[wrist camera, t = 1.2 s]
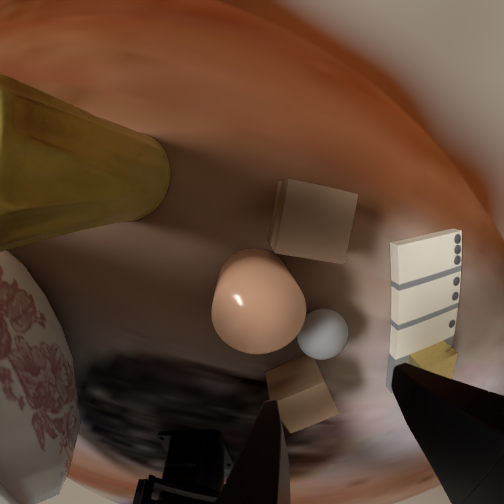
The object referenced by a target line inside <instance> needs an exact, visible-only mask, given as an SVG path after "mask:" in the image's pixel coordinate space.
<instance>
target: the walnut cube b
mask: <svg viewBox="0 0 504 504" xmlns="http://www.w3.org/2000/svg"><path fill="white" fill-rule="evenodd" d="M357 199H358V194H355V193H351V192H347V191H343V190H339V189H335V188H331V187H326V186H322V185H317V184H313V183H308V182H304V181H299V180H294V179H289V178H288V179H284V180H280V181H278V186H277V192H276V197H275V203H274V208H273V214H272V219H271V225H270V230H269V236H268V242H269V244H270V245H271V247H272V249H273V251H274V252H275V253H276V254H282V255H289V256H295V257H301V258H307V259H313V260H320V261H326V262H332V263H338V264H344V261H345V257H346V253H347V249H348V244H349V240H350V235H351V230H352V225H353V220H354V215H355V210H356V205H357Z"/></svg>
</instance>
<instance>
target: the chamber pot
mask: <svg viewBox="0 0 504 504" xmlns="http://www.w3.org/2000/svg"><path fill="white" fill-rule="evenodd" d="M80 423H81V419H80V413H79V406H78V398H77V390H76V381H75V374H74V366H73V358H72V355H71V353H70V350H69V347H68V344H67V342H66V339H65V336H64V333H63V330H62V327H61V324H60V322H59V320H58V319H57V317H56V315H55V313H54V311H53V309H52V307H51V305H50V303H49V301H48V299H47V297H46V295H45V294H44V292H43V291H42V290H41V288H40V287H39V286H38V284H37V283H36V282H35V280H34V279H33V277H32V276H31V274H30V273H29V271H28V270H27V269H26V267H25V266H24V265H23V264H22V263H21V262H20V261H18V260H17V259H16V258H15V257H14V256H13V255H12V254H11V253H10V252H9V251H8V250H5V251H2V252H0V504H37V503H39V502H42V501H44V500H46V499H49V498H51V497H53V496H56V495H58V494H59V493H60V491H61V489H62V486H63V484H64V482H65V480H66V478H67V476H68V473H69V470H70V466H71V462H72V458H73V453H74V448H75V444H76V440H77V435H78V431H79V427H80Z"/></svg>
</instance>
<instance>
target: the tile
mask: <svg viewBox="0 0 504 504" xmlns="http://www.w3.org/2000/svg"><path fill="white" fill-rule="evenodd" d="M457 355H458V352H456V351H455V350H454V349H453V348H452V347H450V346H449V345H448V344H447V343H446V342H444V341H441V342H438V343H436V344H434V345H431V346H429V347H427V348H424V349H422V350H420V351H417V352H415V353H412V354H410V355H409V362H408V364H411V365H414V366H416V367H419V368H422V369H425V370H427V371H430V372H433V373H436V374H439V375H441V376H444V377H447V378H450V379H452V376H453V372H454V368H455V364H456V360H457Z"/></svg>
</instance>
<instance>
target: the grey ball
mask: <svg viewBox="0 0 504 504" xmlns="http://www.w3.org/2000/svg"><path fill="white" fill-rule="evenodd" d="M347 339H348V327H347V324H346V322H345V320H344V319H343V317H342V316H341V315H340V314H338V313H337V312H335V311H333V310H330V309H317V310H314V311H312V312H310V313H308V314H307V315H306V317H305V321H304V324H303V326H302V328H301V330H300V332H299V333H298V335H297V340H298V344H299V346H300V348H301V350H302V351H303V352H304V353H305V354H306V355H308V356H309V357H311V358H314V359H319V360H325V359H329V358H332V357H334V356H336V355H337V354H339V353H340V352H341V351H342V349H343V348H344V346H345V345H346V343H347Z"/></svg>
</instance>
